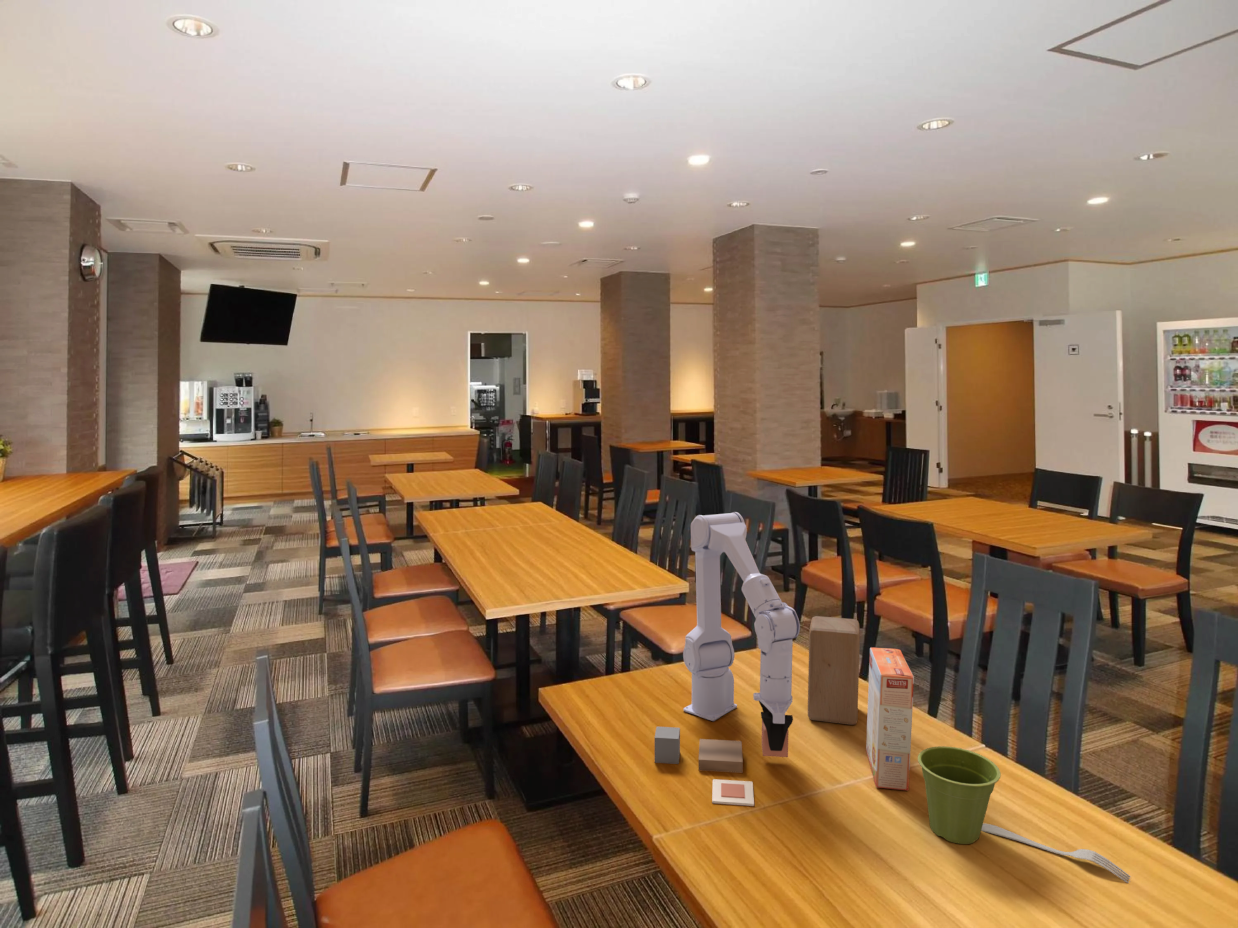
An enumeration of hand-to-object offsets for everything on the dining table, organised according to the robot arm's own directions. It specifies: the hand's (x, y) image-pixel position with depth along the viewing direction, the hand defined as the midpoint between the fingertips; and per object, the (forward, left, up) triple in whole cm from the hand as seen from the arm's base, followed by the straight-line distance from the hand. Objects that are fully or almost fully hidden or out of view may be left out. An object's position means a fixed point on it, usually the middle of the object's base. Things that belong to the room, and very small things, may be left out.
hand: (774, 742), depth 140 cm
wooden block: (-26, -1, -4) cm, 27 cm away
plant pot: (0, +32, -4) cm, 33 cm away
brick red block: (0, 0, -2) cm, 2 cm away
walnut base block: (+6, -8, -5) cm, 11 cm away
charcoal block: (+11, -16, -4) cm, 20 cm away
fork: (-4, +45, -5) cm, 46 cm away
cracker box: (-11, +17, -4) cm, 21 cm away
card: (+14, 0, -4) cm, 14 cm away
